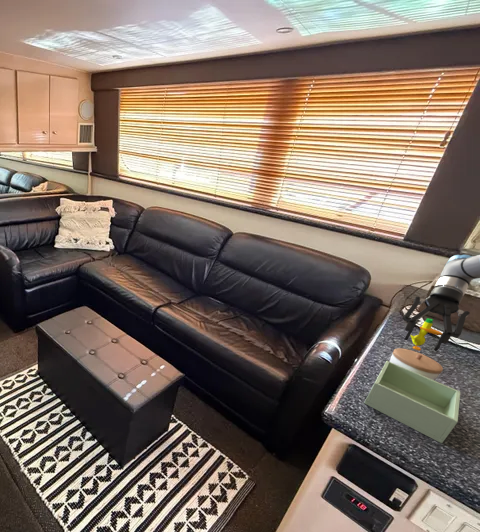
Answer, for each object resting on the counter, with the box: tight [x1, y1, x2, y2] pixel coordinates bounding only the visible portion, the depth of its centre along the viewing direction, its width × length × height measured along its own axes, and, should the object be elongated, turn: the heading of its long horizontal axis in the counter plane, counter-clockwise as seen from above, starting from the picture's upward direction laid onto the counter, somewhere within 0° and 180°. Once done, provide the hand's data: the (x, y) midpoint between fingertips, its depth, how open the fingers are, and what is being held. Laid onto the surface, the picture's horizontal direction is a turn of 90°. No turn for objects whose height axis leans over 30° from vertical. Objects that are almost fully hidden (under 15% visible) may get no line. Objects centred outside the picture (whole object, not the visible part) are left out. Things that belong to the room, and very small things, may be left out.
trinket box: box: [388, 347, 444, 381], centre depth 96 cm, size 11×11×9 cm
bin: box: [363, 360, 461, 444], centre depth 85 cm, size 15×17×7 cm
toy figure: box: [409, 317, 443, 352], centre depth 112 cm, size 7×4×12 cm, turn 39°
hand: (421, 343), depth 110 cm, fingers closed on toy figure, 7 cm apart
